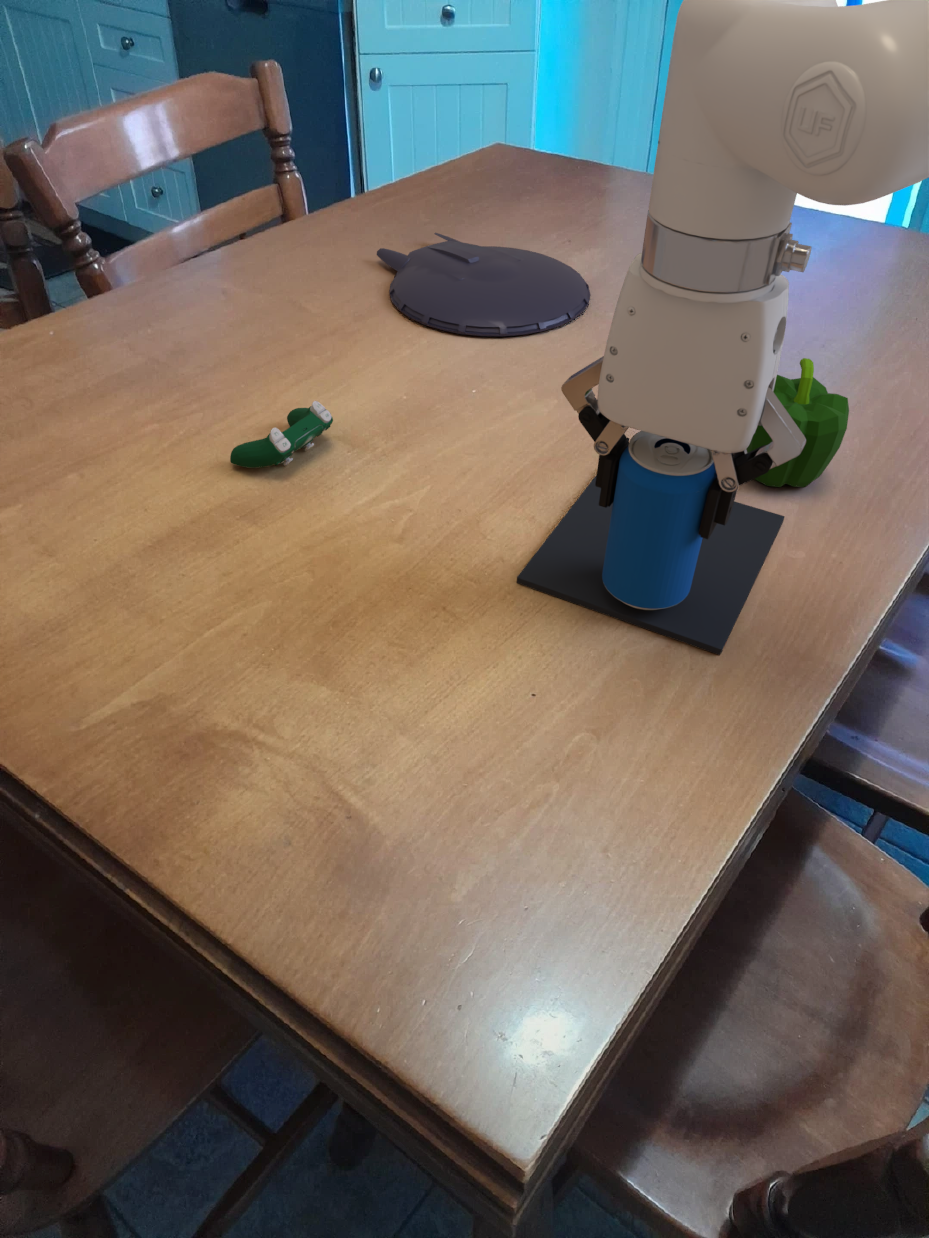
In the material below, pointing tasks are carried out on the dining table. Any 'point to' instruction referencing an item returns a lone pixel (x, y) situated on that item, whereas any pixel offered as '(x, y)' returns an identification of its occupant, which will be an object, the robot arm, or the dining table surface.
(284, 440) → the gaming controller
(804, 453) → the bell pepper
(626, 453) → the beverage can
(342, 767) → the dining table surface
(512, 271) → the toy spaceship
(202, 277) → the dining table surface
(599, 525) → the mat
